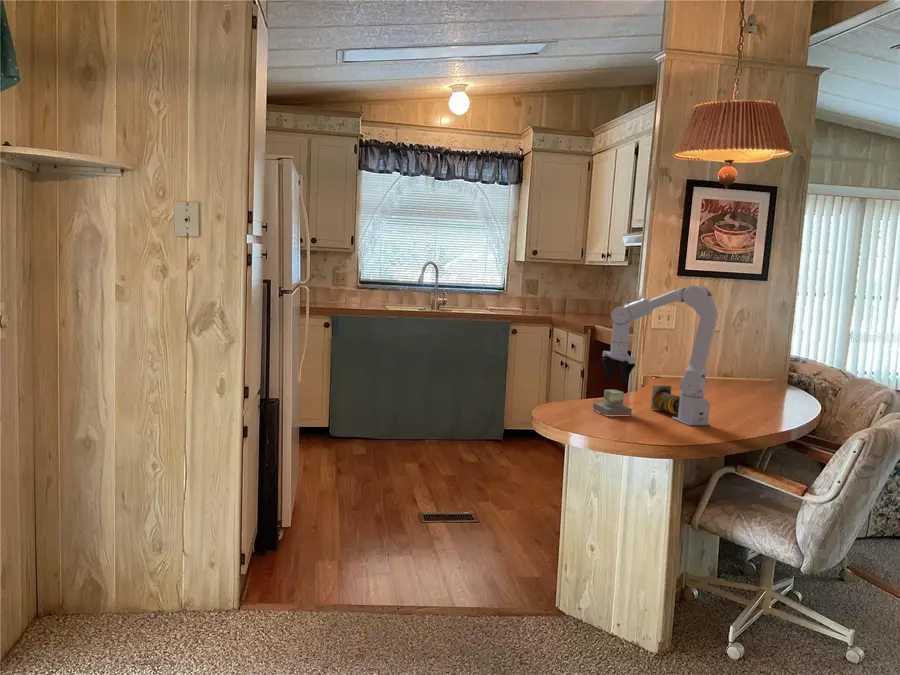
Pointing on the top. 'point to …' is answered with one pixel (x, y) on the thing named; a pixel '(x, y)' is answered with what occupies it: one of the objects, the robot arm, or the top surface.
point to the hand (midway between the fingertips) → (616, 380)
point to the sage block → (613, 398)
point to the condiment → (664, 399)
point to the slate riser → (612, 409)
